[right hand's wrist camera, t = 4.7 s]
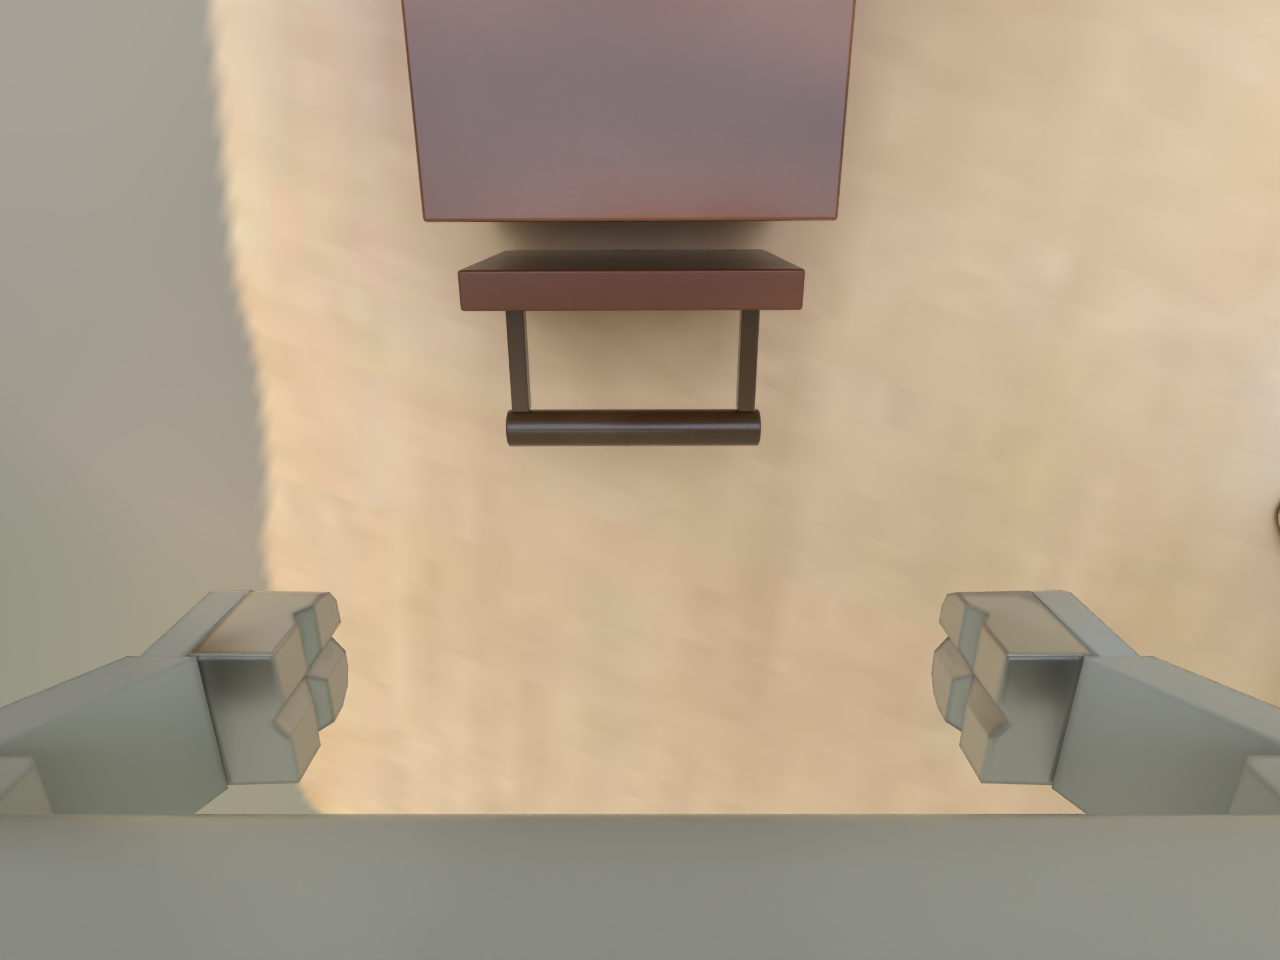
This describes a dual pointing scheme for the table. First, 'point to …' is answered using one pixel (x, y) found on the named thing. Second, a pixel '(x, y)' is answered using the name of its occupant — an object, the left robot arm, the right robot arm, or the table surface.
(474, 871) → the right robot arm
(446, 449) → the table surface
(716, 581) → the table surface
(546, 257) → the drawer
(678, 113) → the cabinet
